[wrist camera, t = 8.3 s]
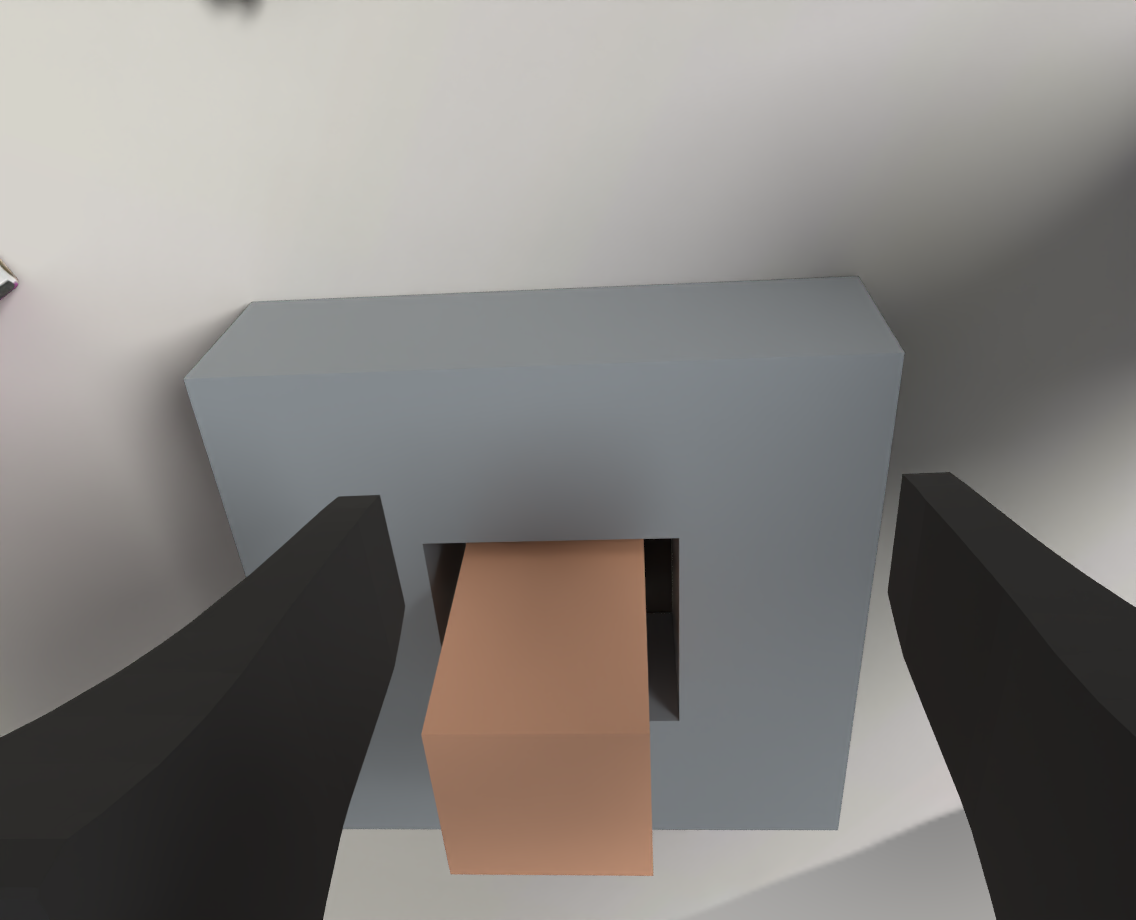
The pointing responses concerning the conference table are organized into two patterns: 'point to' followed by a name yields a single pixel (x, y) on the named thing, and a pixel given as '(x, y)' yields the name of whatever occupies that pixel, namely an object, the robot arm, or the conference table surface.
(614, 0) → the conference table surface
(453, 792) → the peg
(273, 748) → the robot arm
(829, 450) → the socket block
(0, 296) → the candy bar box
